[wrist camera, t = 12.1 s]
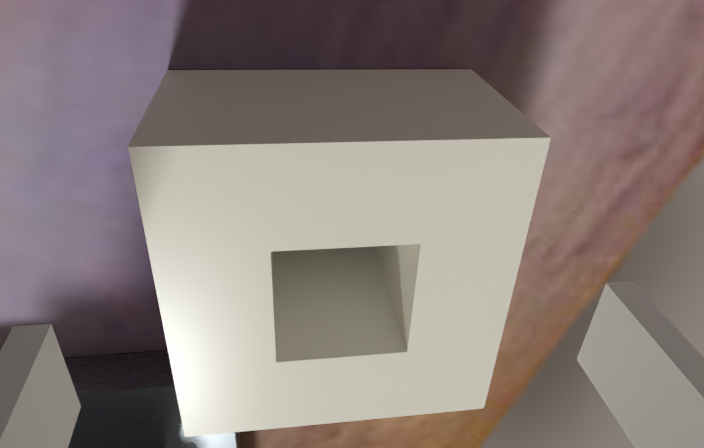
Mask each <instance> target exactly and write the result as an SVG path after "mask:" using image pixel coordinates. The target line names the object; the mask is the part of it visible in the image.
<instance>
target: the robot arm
mask: <svg viewBox="0 0 704 448" xmlns="http://www.w3.org/2000/svg"><path fill="white" fill-rule="evenodd" d="M577 360H578V362H579V363H580V365H581V366H582V368H583V369H584V371H585V372H586V374H587V376H588V377H589V378H590V380H591V381H592V383H593V385H594V386H595V388H596V389H597V391H598V392H599V394H600V395H601V397H602V398H603V400H604V401H605V403H606V404H607V406H608V407H609V409H610V410H611V412H612V413H613V415H614V417H615V418H616V419H617V421H618V422H619V424H620V426H621V427H622V429H623V430H624V431H625V433H626V435H627V436H628V438H629V439H630V441H631V442H632V444H633V445H634V447H635V448H704V357H703V356H702V355H701V354H700V353H699V352H698V351H697V350H696V349H695V347H694V346H693V345H692V344H691V343H690V342H689V341H688V340H687V339H686V338H685V337H684V336H683V334H682V333H681V332H680V331H679V330H678V329H677V328H676V327H675V326H674V325H673V324H672V323H671V321H670V320H669V319H668V318H667V317H666V316H665V315H664V314H663V313H662V312H661V311H660V310H659V308H658V307H657V306H656V305H655V304H654V303H653V302H652V301H651V300H650V299H649V298H648V297H647V295H646V294H645V293H644V292H643V291H642V290H641V289H640V288H639V287H638V286H637V285H636V283H634V282H620V283H606V285H605V288H604V290H603V293H602V296H601V298H600V301H599V303H598V306H597V308H596V311H595V314H594V316H593V319H592V321H591V324H590V327H589V329H588V332H587V334H586V337H585V339H584V342H583V344H582V347H581V350H580V353H579V355H578V357H577ZM80 408H81V405H80V402H79V399H78V396H77V394H76V391H75V388H74V385H73V383H72V380H71V377H70V374H69V371H68V369H67V366H66V363H65V360H64V358H63V355H62V352H61V349H60V347H59V344H58V341H57V338H56V335H55V333H54V330H53V327H52V324H39V325H25V326H13V327H12V329H11V331H10V333H9V335H8V337H7V339H6V341H5V343H4V345H3V347H2V348H1V350H0V448H68V446H69V443H70V440H71V437H72V433H73V430H74V427H75V424H76V421H77V418H78V415H79V411H80Z"/></svg>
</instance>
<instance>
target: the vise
mask: <svg viewBox="0 0 704 448" xmlns="http://www.w3.org/2000/svg"><path fill="white" fill-rule="evenodd" d="M64 360H65V363H66V366H67V369H68V371H69V374H70V377H71V380H72V383H73V385H74V388H75V391H76V394H77V396H78V399H79V402H80V405H81V408H80V411H79V415H78V418H77V421H76V424H75V427H74V430H73V433H72V437H71V440H70V443H69V446H68V448H242V442H241V433H240V432H233V433H223V434H213V435H202V436H192V437H185V436H184V431H183V426H182V420H181V415H180V410H179V405H178V400H177V395H176V390H175V385H174V380H173V375H172V369H171V364H170V359H169V354H168V351H154V352H141V353H128V354H114V355H101V356H87V357H74V358H64Z"/></svg>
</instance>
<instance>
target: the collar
mask: <svg viewBox="0 0 704 448" xmlns="http://www.w3.org/2000/svg"><path fill="white" fill-rule="evenodd" d="M550 140H551V137H550V136H549V135H547V134H546V133H545V132H544V131H543V130H542V129H540V128H539V127H538V126H537V125H536V124H535V123H533V122H532V121H531V120H530V119H529V118H528V117H526V116H525V115H524V114H523V113H522V112H521V111H519V110H518V109H517V108H516V107H515V106H514V105H512V104H511V103H510V102H509V101H508V100H507V99H505V98H504V97H503V96H502V95H501V94H500V93H498V92H497V91H496V90H495V89H494V88H493V87H491V86H490V85H489V84H488V83H487V82H486V81H484V80H483V79H482V78H481V77H480V76H479V75H477V74H476V73H475V72H474V71H473V70H472V69H377V70H167V72H166V74H165V76H164V78H163V80H162V82H161V83H160V85H159V87H158V89H157V91H156V93H155V95H154V97H153V99H152V101H151V103H150V105H149V107H148V109H147V111H146V113H145V115H144V117H143V119H142V121H141V122H140V124H139V126H138V128H137V130H136V132H135V134H134V136H133V138H132V140H131V142H130V144H129V146H128V150H129V155H130V160H131V165H132V170H133V175H134V181H135V186H136V191H137V196H138V201H139V206H140V211H141V216H142V221H143V227H144V232H145V237H146V242H147V247H148V252H149V257H150V262H151V267H152V272H153V278H154V283H155V288H156V293H157V298H158V303H159V308H160V313H161V318H162V323H163V329H164V334H165V339H166V344H167V349H168V354H169V359H170V364H171V369H172V375H173V380H174V385H175V390H176V395H177V400H178V405H179V410H180V415H181V420H182V426H183V431H184V436H185V437H192V436H202V435H213V434H223V433H233V432H244V431H254V430H264V429H275V428H285V427H295V426H306V425H316V424H327V423H337V422H347V421H358V420H368V419H378V418H389V417H399V416H409V415H420V414H430V413H440V412H451V411H461V410H471V409H482V408H484V406H485V402H486V398H487V394H488V390H489V386H490V382H491V378H492V374H493V370H494V366H495V361H496V357H497V353H498V349H499V345H500V341H501V337H502V333H503V329H504V325H505V321H506V317H507V313H508V309H509V305H510V301H511V297H512V293H513V289H514V285H515V281H516V277H517V273H518V269H519V265H520V261H521V257H522V253H523V248H524V244H525V240H526V236H527V232H528V228H529V224H530V220H531V216H532V212H533V208H534V204H535V200H536V196H537V192H538V188H539V184H540V180H541V176H542V172H543V168H544V164H545V160H546V156H547V152H548V148H549V144H550Z"/></svg>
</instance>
